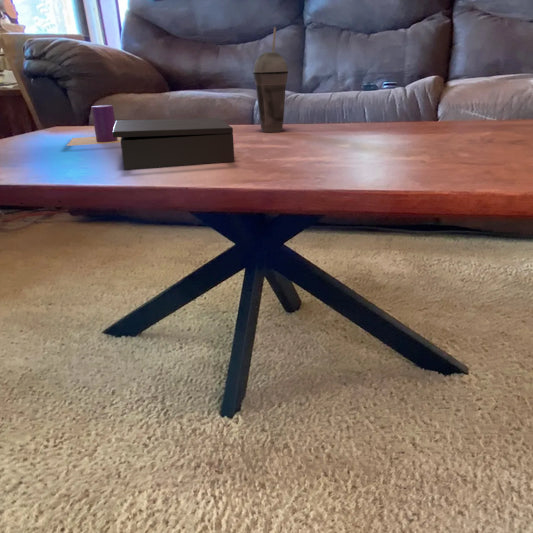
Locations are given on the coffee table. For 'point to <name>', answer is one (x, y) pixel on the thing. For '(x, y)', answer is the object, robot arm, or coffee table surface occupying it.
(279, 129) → the beverage cup
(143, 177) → the coffee table surface
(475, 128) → the coffee table surface
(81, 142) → the cork mat
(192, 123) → the lid
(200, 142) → the box
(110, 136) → the purple cylinder
